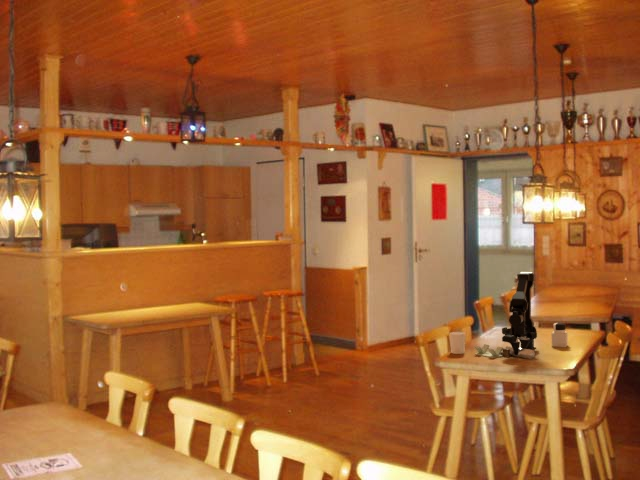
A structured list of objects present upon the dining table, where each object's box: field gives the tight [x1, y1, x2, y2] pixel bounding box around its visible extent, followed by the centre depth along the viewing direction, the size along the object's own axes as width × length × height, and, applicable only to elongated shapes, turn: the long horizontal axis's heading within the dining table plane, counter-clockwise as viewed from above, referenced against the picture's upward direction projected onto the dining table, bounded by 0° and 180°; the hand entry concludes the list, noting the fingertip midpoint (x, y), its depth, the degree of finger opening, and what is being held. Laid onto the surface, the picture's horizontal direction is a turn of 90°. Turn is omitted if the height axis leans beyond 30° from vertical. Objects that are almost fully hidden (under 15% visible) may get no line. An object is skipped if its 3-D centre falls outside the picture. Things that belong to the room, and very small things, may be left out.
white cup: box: [449, 331, 466, 355], centre depth 386 cm, size 8×8×10 cm
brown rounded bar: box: [505, 345, 536, 360], centre depth 372 cm, size 15×4×4 cm, turn 34°
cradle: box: [474, 344, 504, 359], centre depth 378 cm, size 8×12×4 cm, turn 34°
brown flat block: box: [500, 347, 511, 357], centre depth 379 cm, size 8×8×4 cm
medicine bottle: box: [551, 322, 568, 348], centre depth 398 cm, size 7×7×12 cm
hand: (519, 354), depth 373 cm, fingers closed on brown rounded bar, 4 cm apart
